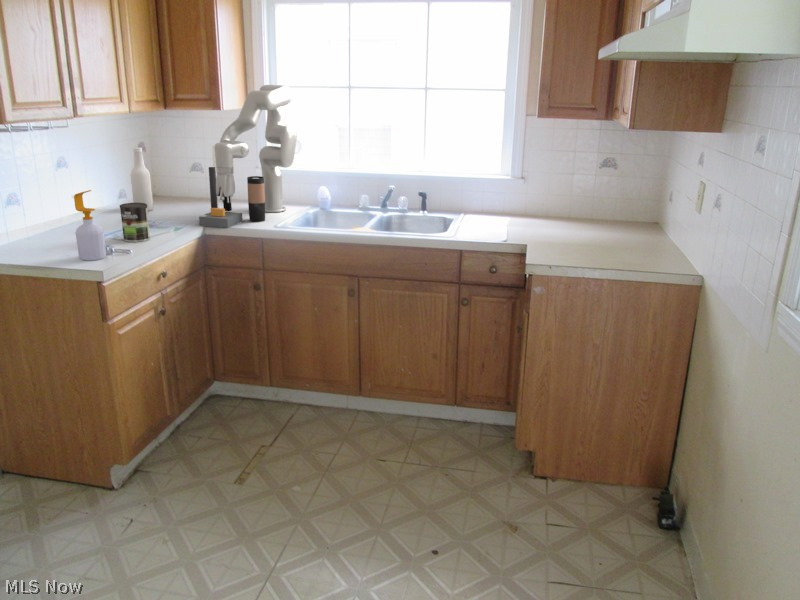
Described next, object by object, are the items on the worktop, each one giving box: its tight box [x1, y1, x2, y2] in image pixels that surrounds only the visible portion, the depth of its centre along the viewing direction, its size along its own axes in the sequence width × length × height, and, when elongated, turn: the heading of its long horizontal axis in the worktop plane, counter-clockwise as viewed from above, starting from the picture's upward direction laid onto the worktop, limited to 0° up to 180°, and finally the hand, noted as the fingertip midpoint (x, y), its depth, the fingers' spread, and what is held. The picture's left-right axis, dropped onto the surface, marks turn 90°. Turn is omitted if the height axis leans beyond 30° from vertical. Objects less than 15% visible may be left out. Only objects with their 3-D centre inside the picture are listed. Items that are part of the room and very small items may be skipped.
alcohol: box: [130, 146, 154, 212], centre depth 310 cm, size 9×9×30 cm
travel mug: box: [246, 175, 266, 223], centre depth 298 cm, size 8×8×20 cm
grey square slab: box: [198, 211, 244, 229], centre depth 292 cm, size 14×14×4 cm
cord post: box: [208, 166, 219, 209], centre depth 302 cm, size 8×8×23 cm
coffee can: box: [119, 202, 151, 243], centre depth 259 cm, size 10×10×14 cm
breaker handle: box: [210, 207, 226, 217], centre depth 288 cm, size 2×6×3 cm, turn 76°
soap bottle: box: [73, 189, 107, 262], centre depth 230 cm, size 9×9×25 cm
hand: (227, 210), depth 297 cm, fingers closed
